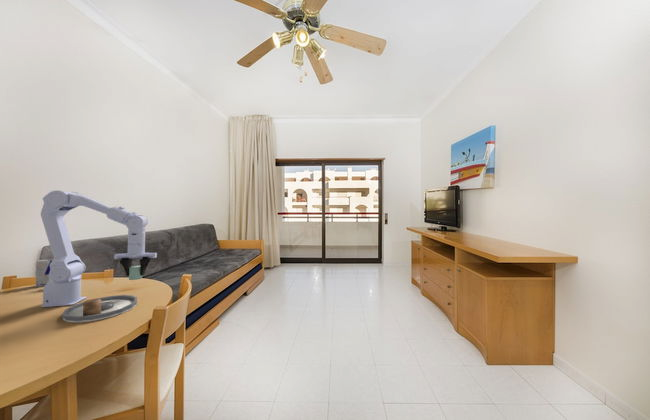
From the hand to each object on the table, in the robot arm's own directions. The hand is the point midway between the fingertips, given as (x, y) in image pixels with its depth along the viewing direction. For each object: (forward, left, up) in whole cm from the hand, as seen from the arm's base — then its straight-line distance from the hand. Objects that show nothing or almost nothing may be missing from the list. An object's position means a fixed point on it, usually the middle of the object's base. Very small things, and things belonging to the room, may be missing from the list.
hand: (135, 275), depth 98 cm
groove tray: (-5, -12, -9) cm, 16 cm away
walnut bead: (-5, -18, -9) cm, 21 cm away
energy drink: (-47, +26, -10) cm, 55 cm away
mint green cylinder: (0, 0, -1) cm, 1 cm away
